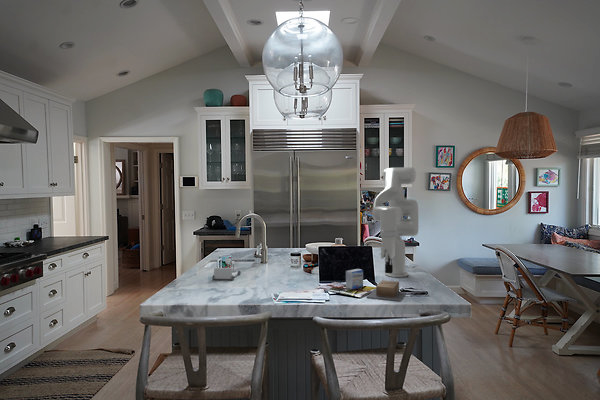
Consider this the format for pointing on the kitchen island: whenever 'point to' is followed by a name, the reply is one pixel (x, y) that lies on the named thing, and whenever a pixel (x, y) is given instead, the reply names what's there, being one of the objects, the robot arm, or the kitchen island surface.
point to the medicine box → (354, 278)
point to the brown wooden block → (387, 288)
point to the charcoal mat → (397, 297)
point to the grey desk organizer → (225, 272)
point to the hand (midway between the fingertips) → (388, 272)
